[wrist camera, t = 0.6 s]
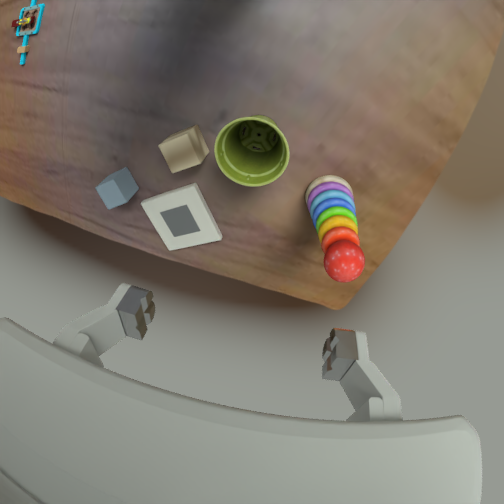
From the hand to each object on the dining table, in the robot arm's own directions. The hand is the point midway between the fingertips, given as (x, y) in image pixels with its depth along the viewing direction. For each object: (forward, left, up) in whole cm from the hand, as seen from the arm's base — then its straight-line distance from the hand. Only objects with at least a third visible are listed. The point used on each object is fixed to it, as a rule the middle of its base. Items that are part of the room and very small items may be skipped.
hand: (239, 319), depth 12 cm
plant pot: (+2, -4, -34) cm, 35 cm away
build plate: (+13, -23, -34) cm, 43 cm away
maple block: (0, -15, -34) cm, 37 cm away
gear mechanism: (-42, -36, -35) cm, 66 cm away
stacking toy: (+15, +4, -34) cm, 38 cm away
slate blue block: (+2, -31, -34) cm, 46 cm away
